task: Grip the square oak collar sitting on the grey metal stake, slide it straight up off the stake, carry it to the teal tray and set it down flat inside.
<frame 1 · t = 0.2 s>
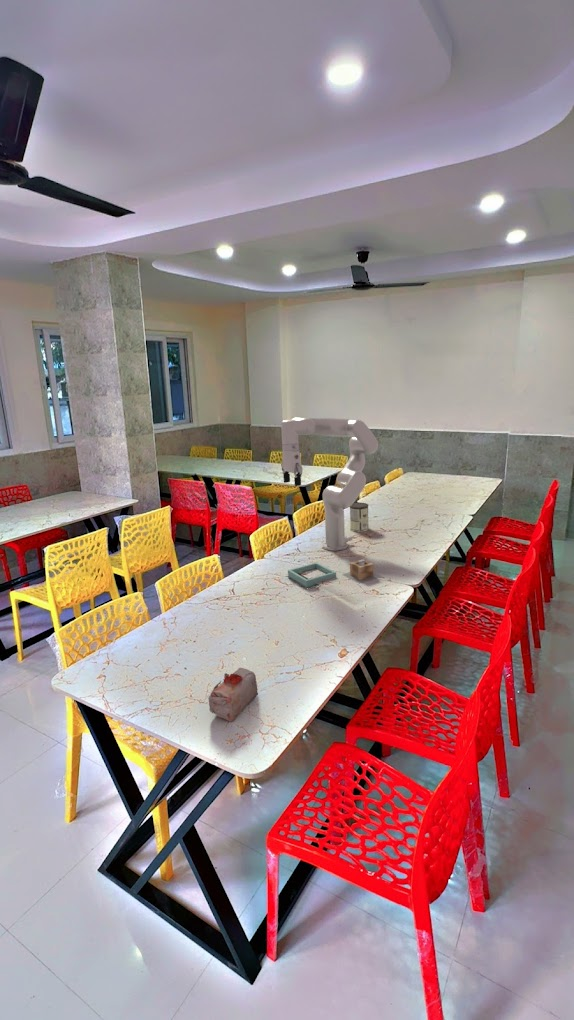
hand: (292, 483, 236), 37 cm above the table, tool pointing down, fingers open, 9 cm apart
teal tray: (311, 578, 220), on the table
stake stand: (361, 578, 217), on the table
oak collar: (361, 575, 217), point 1 cm above the table, touching stake stand
coffee can: (359, 529, 285), on the table
food item: (235, 707, 138), on the table
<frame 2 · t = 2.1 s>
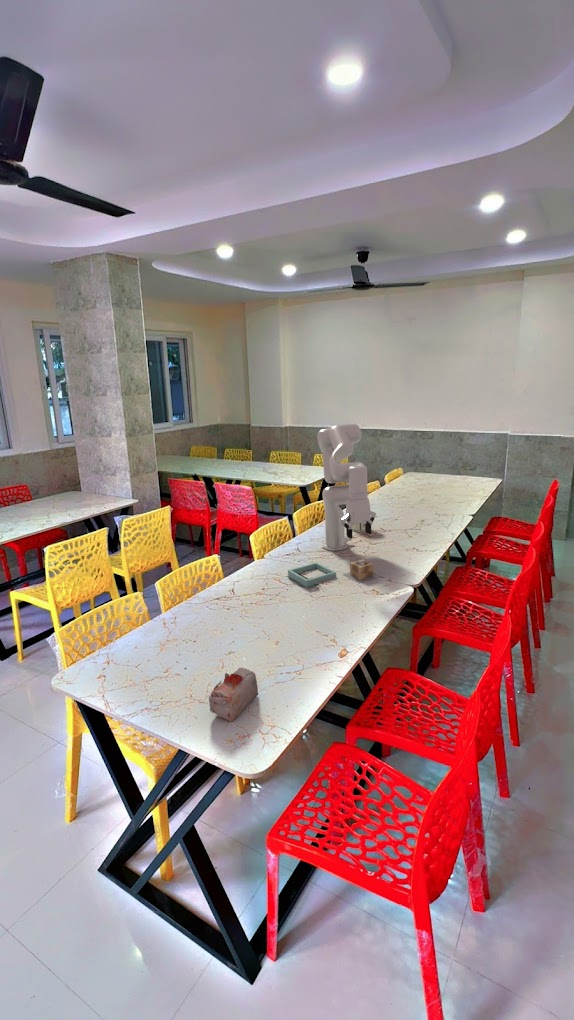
hand: (359, 535, 213), 19 cm above the table, tool pointing down, fingers open, 9 cm apart
nothing on the table moved.
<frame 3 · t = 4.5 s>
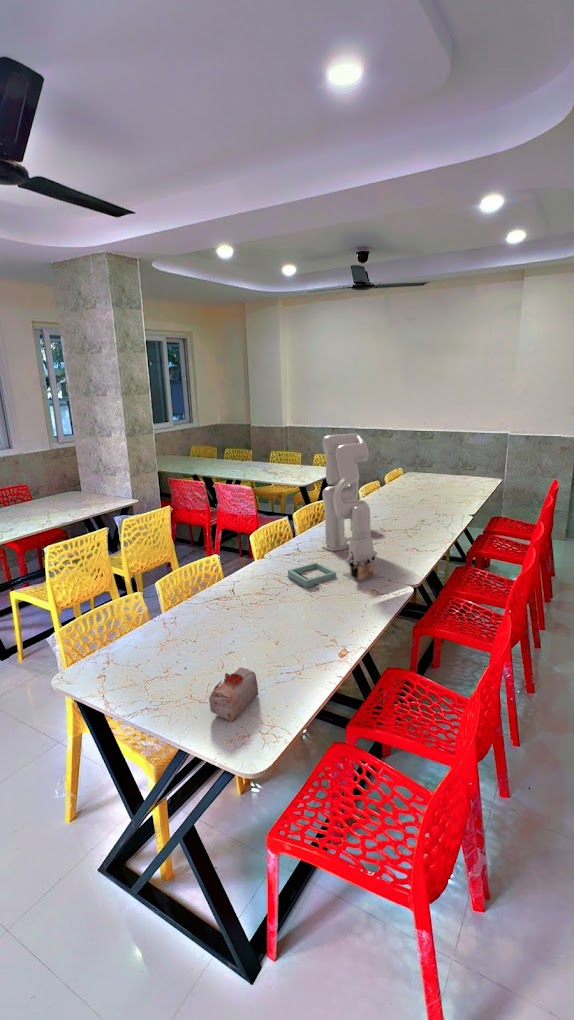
hand: (361, 573, 216), 2 cm above the table, tool pointing down, fingers closed on oak collar, 7 cm apart
oak collar: (361, 575, 217), point 2 cm above the table, touching gripper, stake stand
everything else where it was.
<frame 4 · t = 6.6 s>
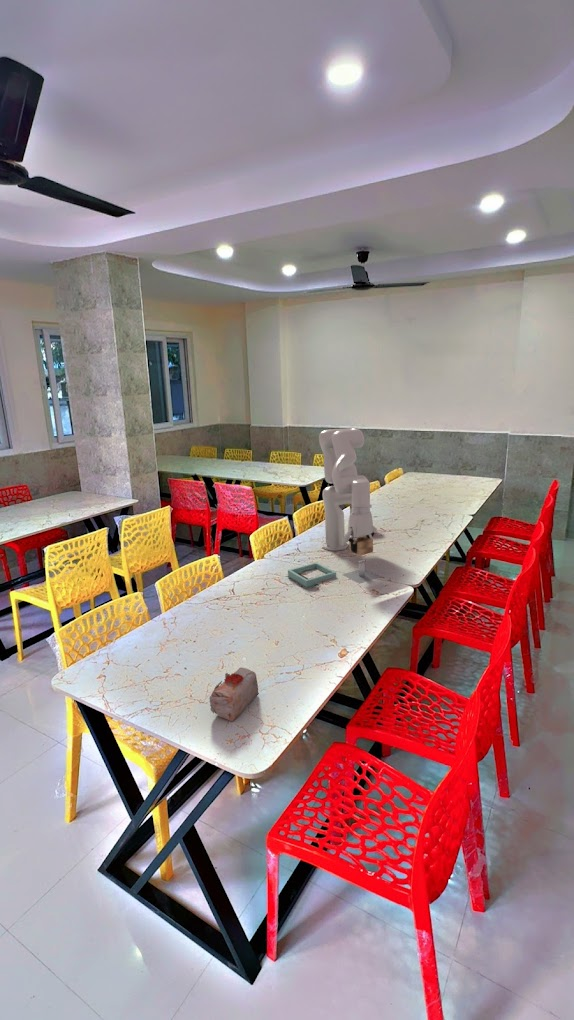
hand: (361, 549, 214), 13 cm above the table, tool pointing down, fingers closed on oak collar, 7 cm apart
oak collar: (361, 551, 214), point 12 cm above the table, touching gripper
everything else where it was.
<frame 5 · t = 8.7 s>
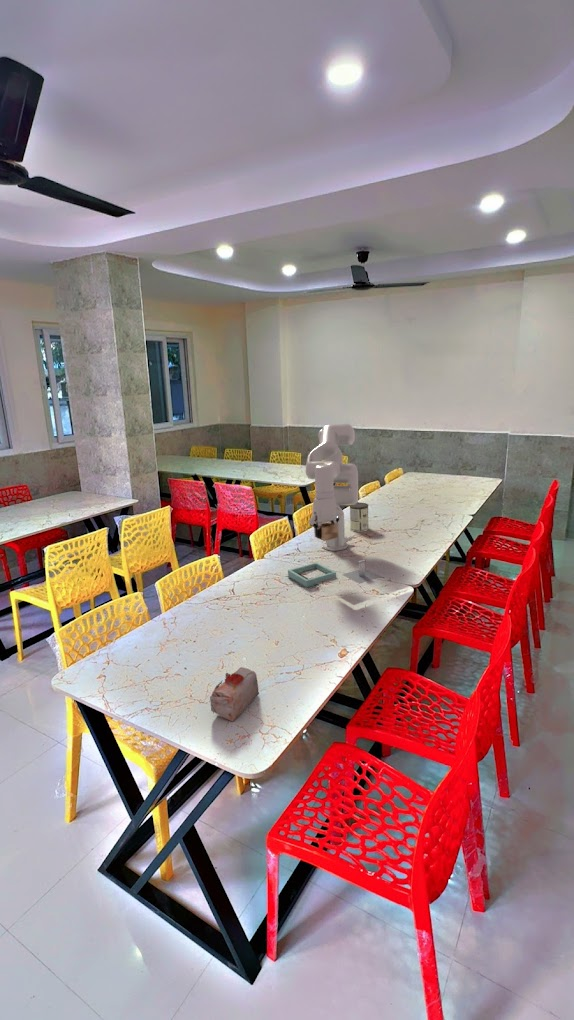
hand: (326, 535, 214), 20 cm above the table, tool pointing down, fingers closed on oak collar, 7 cm apart
oak collar: (326, 537, 214), point 19 cm above the table, touching gripper
everything else where it was.
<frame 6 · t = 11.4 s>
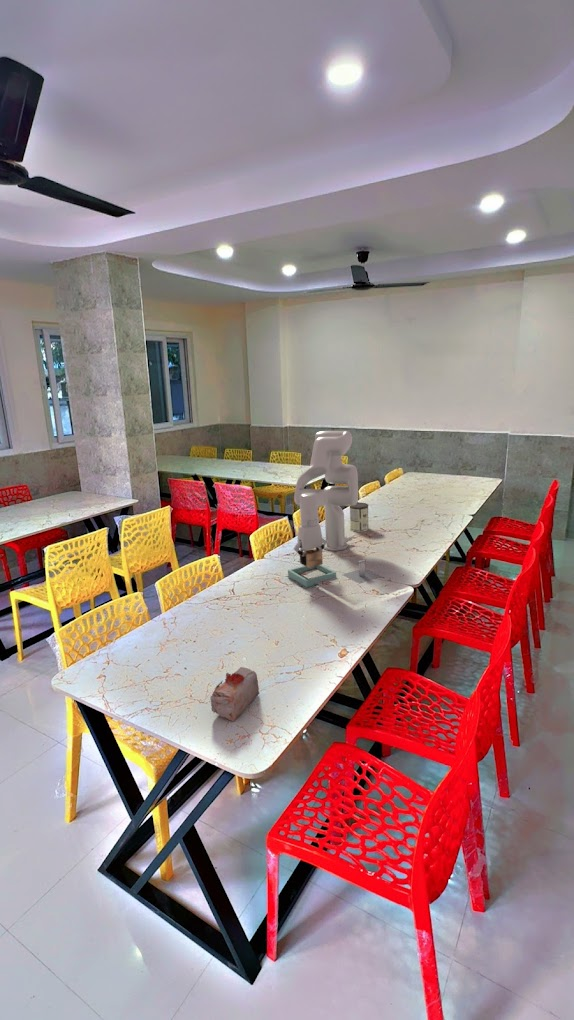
hand: (311, 561, 218), 8 cm above the table, tool pointing down, fingers closed on oak collar, 7 cm apart
oak collar: (311, 563, 218), point 7 cm above the table, touching gripper
everything else where it was.
when the fingers open (3 cm above the table, at t = 13.4 s): oak collar drops 1 cm, resting on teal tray.
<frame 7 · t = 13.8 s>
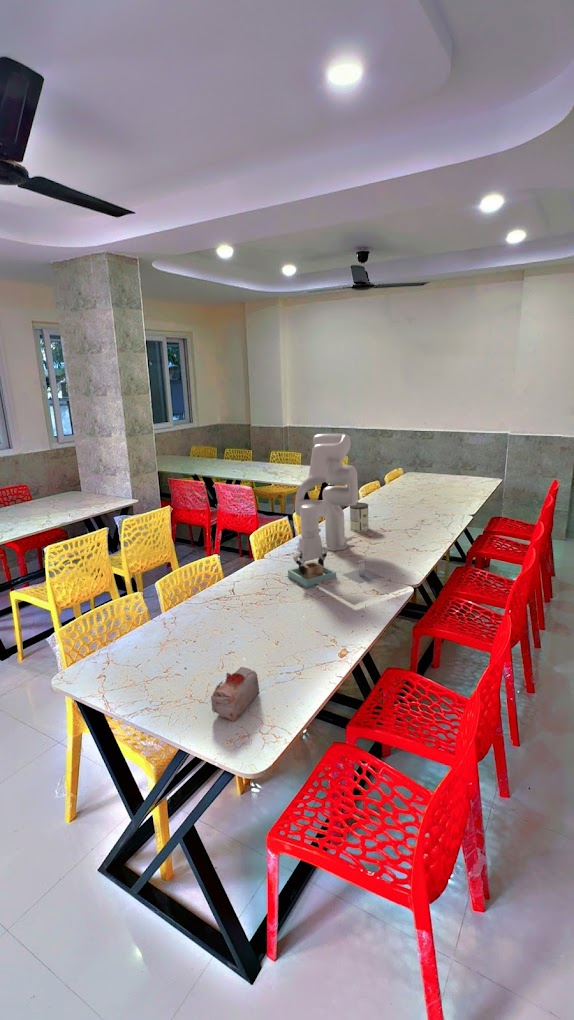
hand: (311, 571, 219), 4 cm above the table, tool pointing down, fingers open, 9 cm apart
oak collar: (312, 576, 220), point 1 cm above the table, touching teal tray
everything else where it was.
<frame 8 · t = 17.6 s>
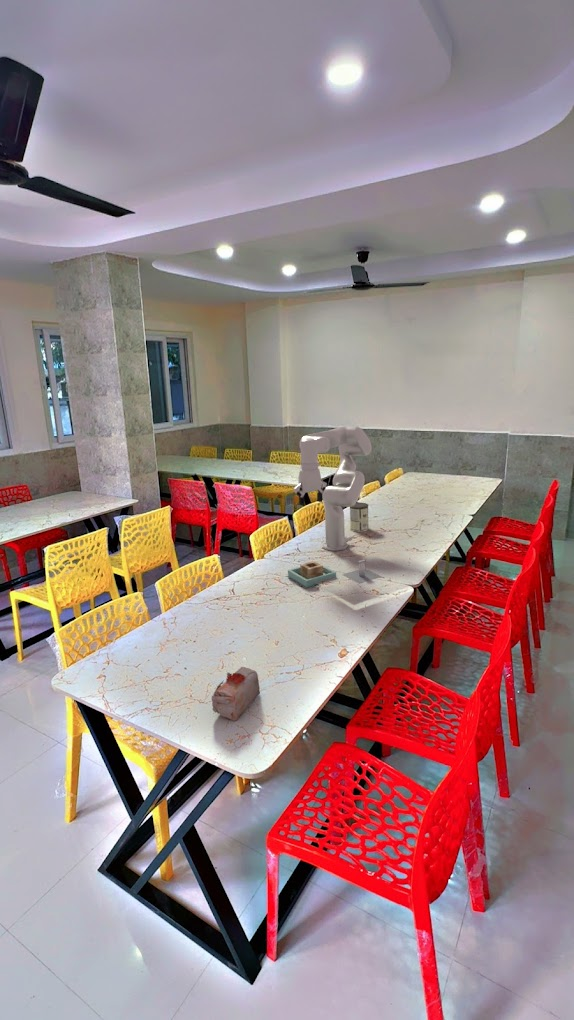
hand: (311, 503, 232), 28 cm above the table, tool pointing down, fingers open, 9 cm apart
nothing on the table moved.
at the end: oak collar inside the target area on the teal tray (0.1 cm from its centre), point 0.8 cm above the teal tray's base; oak collar tilted 0°; the gripper is holding nothing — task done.
